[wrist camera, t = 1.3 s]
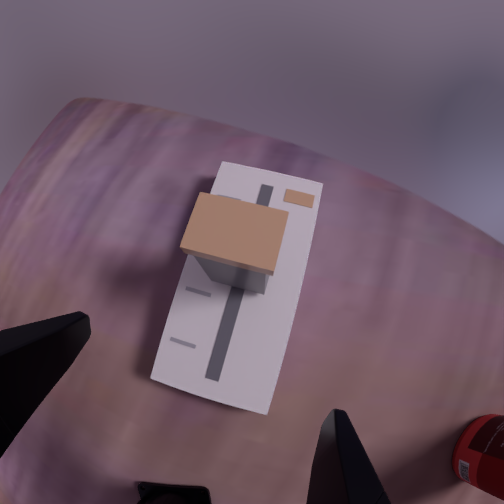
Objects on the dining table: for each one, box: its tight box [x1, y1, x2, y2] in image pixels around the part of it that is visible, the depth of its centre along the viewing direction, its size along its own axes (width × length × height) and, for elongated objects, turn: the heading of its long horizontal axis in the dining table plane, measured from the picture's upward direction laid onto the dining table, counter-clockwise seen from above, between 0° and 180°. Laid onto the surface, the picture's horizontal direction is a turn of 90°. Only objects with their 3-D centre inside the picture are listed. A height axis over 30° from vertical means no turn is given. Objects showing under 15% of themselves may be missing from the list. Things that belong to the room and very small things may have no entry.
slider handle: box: [180, 192, 289, 295], centre depth 18 cm, size 3×5×8 cm
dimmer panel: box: [150, 161, 323, 415], centre depth 23 cm, size 19×9×3 cm, turn 165°
